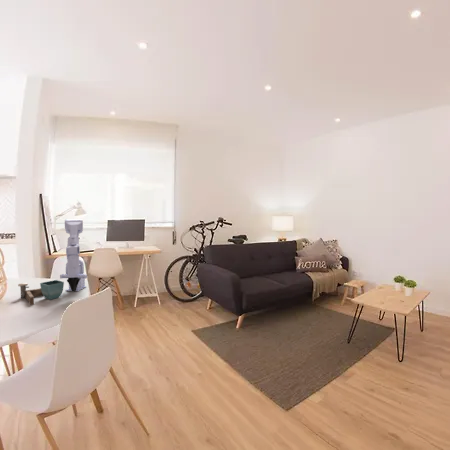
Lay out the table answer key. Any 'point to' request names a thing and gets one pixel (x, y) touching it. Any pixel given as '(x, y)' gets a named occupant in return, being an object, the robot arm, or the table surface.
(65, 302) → the table surface
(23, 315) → the table surface
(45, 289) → the flower pot
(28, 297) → the v jig
